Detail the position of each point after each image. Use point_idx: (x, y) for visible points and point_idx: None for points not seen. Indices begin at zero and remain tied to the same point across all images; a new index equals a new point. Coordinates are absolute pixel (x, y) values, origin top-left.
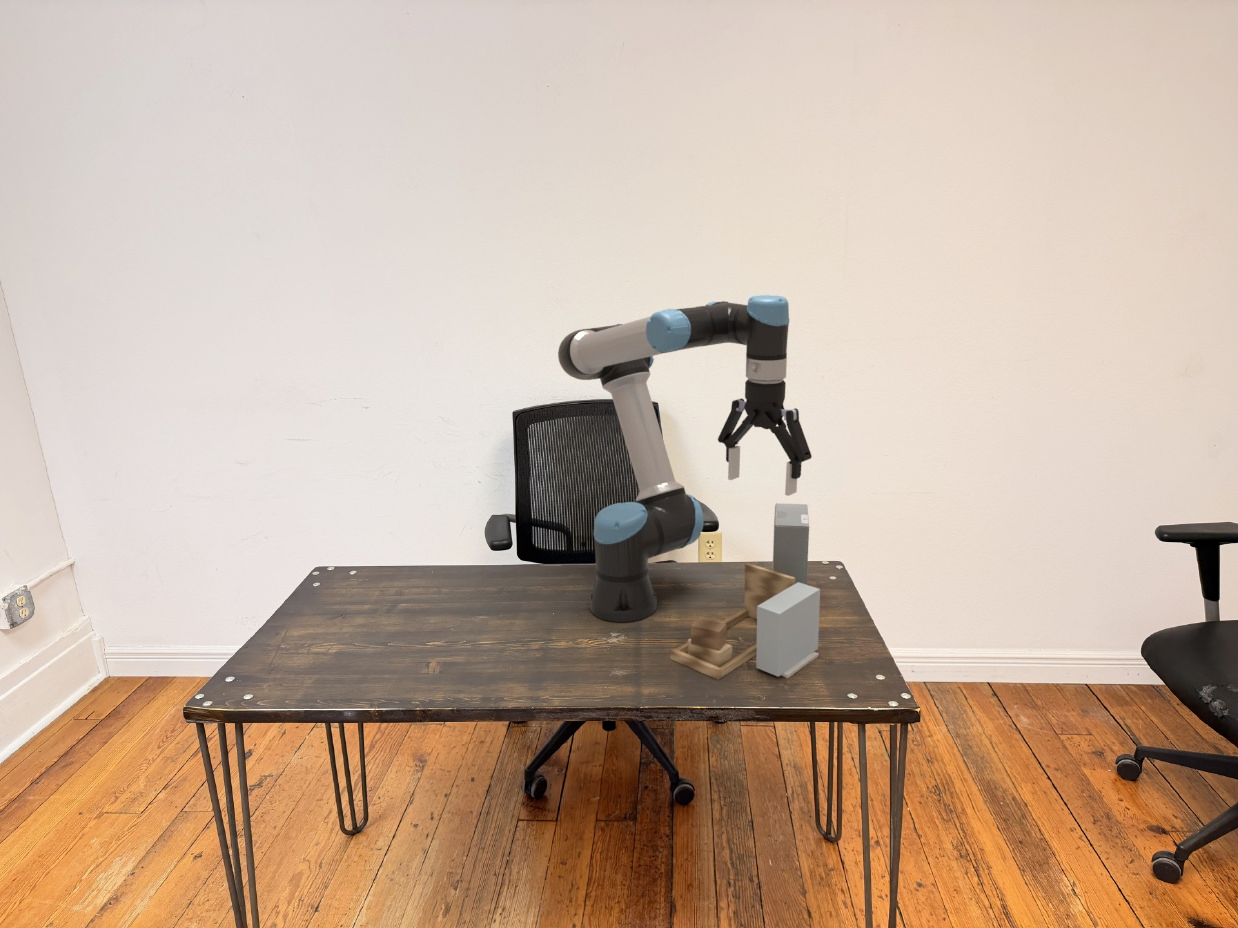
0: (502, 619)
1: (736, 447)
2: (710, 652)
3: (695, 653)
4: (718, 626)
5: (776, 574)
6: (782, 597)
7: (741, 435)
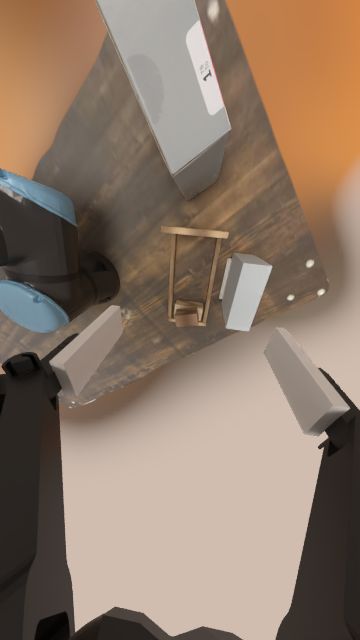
0: (66, 329)
1: (68, 378)
2: None
3: None
4: (193, 319)
5: (205, 236)
6: (240, 304)
7: (53, 449)
